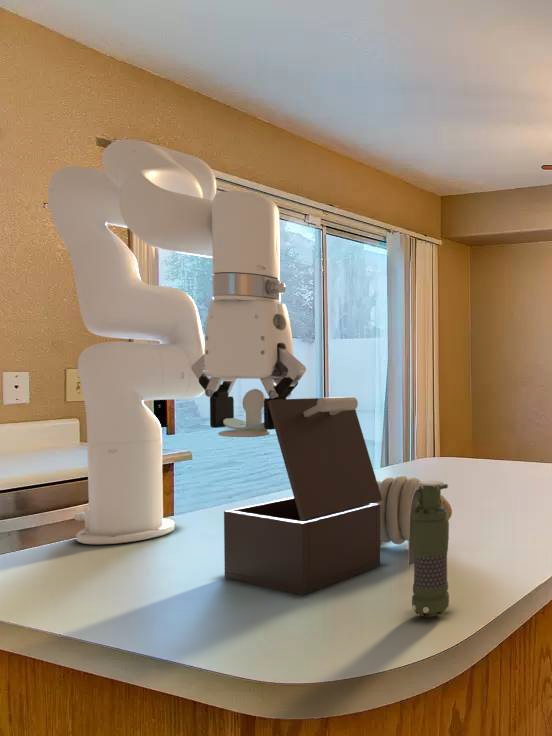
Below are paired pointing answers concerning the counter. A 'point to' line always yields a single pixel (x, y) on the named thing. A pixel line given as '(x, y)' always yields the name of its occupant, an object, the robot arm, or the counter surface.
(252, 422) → the pacifier
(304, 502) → the lid
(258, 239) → the robot arm
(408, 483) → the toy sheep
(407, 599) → the counter surface
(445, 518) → the grenade
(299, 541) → the dark wooden chest
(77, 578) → the counter surface
